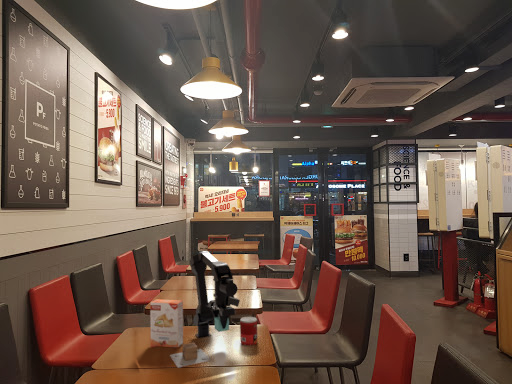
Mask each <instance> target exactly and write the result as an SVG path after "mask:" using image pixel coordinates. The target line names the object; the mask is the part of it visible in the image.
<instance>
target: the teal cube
mask: <svg viewBox="0 0 512 384" xmlns="http://www.w3.org/2000/svg"><path fill="white" fill-rule="evenodd" d="M214 330H216V331H217V332H224V331H229V330H230V319H229V317H228V320H227V324H226V327H225V329H223V328H222V325H221V322H220V319H219V317H215V316H214Z"/></svg>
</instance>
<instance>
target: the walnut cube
mask: <svg viewBox="0 0 512 384" xmlns="http://www.w3.org/2000/svg"><path fill="white" fill-rule="evenodd" d="M181 346H182V348H181V349H182V351H181V352H182V357H183V358H184V359H185V361H188V360H193V359H197V349H198V345H197V344H196V343H195V342H189V343H185V344H184V343H183V344H182V345H181Z"/></svg>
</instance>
